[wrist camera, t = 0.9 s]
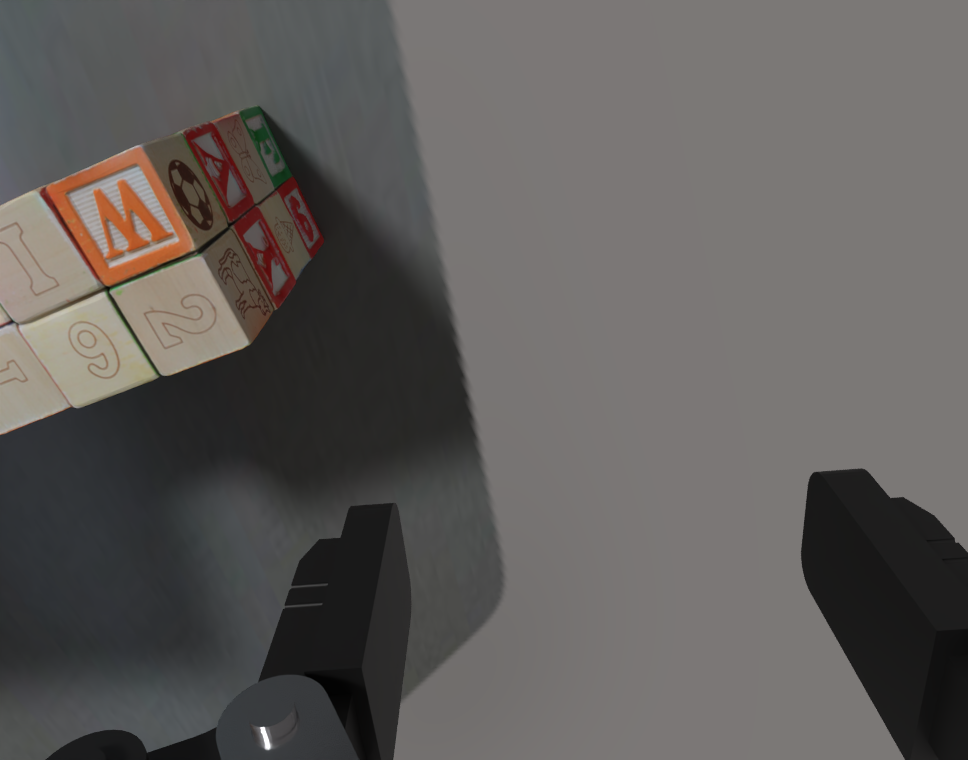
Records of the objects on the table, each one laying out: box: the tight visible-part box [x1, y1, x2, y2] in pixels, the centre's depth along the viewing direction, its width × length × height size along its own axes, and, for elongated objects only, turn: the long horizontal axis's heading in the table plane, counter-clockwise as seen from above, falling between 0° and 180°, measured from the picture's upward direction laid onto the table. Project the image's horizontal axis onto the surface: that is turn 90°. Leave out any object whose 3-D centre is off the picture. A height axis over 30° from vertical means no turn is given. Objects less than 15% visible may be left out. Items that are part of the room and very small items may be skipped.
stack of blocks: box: [0, 106, 324, 435], centre depth 29 cm, size 21×6×12 cm, turn 111°
